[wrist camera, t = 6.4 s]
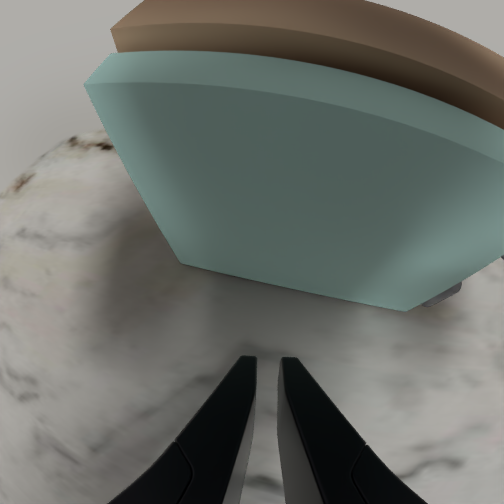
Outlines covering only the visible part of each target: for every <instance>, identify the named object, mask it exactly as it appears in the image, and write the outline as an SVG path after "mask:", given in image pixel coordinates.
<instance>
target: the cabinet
mask: <svg viewBox="0 0 504 504" xmlns="http://www.w3.org/2000/svg"><path fill="white" fill-rule="evenodd" d="M110 30H111V33H112V36H113V39H114V42H115V45H116V48H117V51H118V53H123V52H139V51H211V52H227V53H239V54H250V55H259V56H267V57H274V58H281V59H288V60H294V61H300V62H306V63H311V64H316V65H321V66H326V67H331V68H335V69H340V70H344V71H348V72H352V73H356V74H360V75H364V76H367V77H371V78H375V79H378V80H382V81H385V82H388V83H391V84H395V85H398V86H401V87H404V88H407V89H410V90H413V91H416V92H418V93H421V94H424V95H427V96H429V97H432V98H435V99H437V100H440V101H442V102H445V103H447V104H450V105H452V106H454V107H457V108H459V109H461V110H464V111H466V112H468V113H470V114H473V115H475V116H477V117H479V118H481V119H483V120H485V121H487V122H489V123H491V124H493V125H495V126H497V127H499V128H501V129H503V130H504V57H502V56H500V55H499V54H497V53H495V52H493V51H491V50H490V49H488V48H486V47H484V46H482V45H480V44H478V43H476V42H474V41H472V40H470V39H468V38H466V37H464V36H462V35H460V34H458V33H456V32H453V31H451V30H449V29H447V28H444V27H442V26H440V25H437V24H435V23H432V22H430V21H427V20H424V19H422V18H419V17H417V16H414V15H411V14H408V13H405V12H402V11H399V10H396V9H393V8H389V7H386V6H383V5H380V4H376V3H373V2H369V1H365V0H144V1H143V2H142V3H140V4H139V5H138V6H137V7H135V8H134V9H133V10H132V11H130V12H129V13H128V14H127V15H126V16H125V17H123V18H122V19H121V20H120V21H119V22H118V23H117V24H115V25H114V26H113V27H112V28H111V29H110Z"/></svg>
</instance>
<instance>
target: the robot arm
mask: <svg viewBox="0 0 504 504" xmlns="http://www.w3.org/2000/svg"><path fill="white" fill-rule="evenodd" d="M256 384H257V357H256V356H246V355H242V356H241V357H240V358H239V359H238V360H237V362H236V363H235V364H234V365H233V367H232V368H231V369H230V371H229V372H228V373H227V375H226V376H225V377H224V379H223V380H222V381H221V382H220V384H219V385H218V386H217V388H216V389H215V390H214V391H213V393H212V394H211V395H210V396H209V398H208V399H207V400H206V402H205V403H204V404H203V405H202V407H201V408H200V409H199V410H198V412H197V413H196V414H195V415H194V417H193V418H192V419H191V420H190V421H189V423H188V424H187V425H186V426H185V428H184V429H183V430H182V431H181V433H180V434H179V435H178V436H177V437H176V439H175V441H173V442H172V443H171V444H170V446H169V447H168V448H167V449H166V450H165V452H164V453H163V454H162V455H161V456H160V457H159V458H158V459H157V460H156V461H155V462H154V464H153V465H152V466H151V467H150V468H149V469H148V470H146V471H145V472H144V473H143V474H142V475H141V476H140V477H139V478H138V479H137V480H136V481H134V482H133V483H132V484H131V485H130V486H128V487H127V488H126V489H125V490H124V491H122V492H121V493H120V494H119V495H117V496H116V497H115V498H114V499H113V500H111V501H110V502H109V503H108V504H239V502H240V497H241V493H242V488H243V483H244V478H245V474H246V469H247V464H248V459H249V454H250V449H251V444H252V438H253V430H254V415H255V400H256ZM277 436H278V446H279V454H280V462H281V469H282V477H283V485H284V493H285V501H286V504H428V503H426V502H425V501H424V500H423V499H422V498H420V497H419V496H418V495H417V494H416V493H415V492H414V491H412V490H411V489H410V488H409V487H408V486H407V485H406V484H404V483H403V482H402V481H401V480H400V479H399V478H398V477H397V476H396V475H395V474H394V473H393V472H392V471H391V470H390V469H389V468H388V467H387V466H386V465H385V464H384V463H383V462H382V461H381V460H380V458H379V457H378V456H377V455H376V454H375V453H374V452H373V450H372V449H371V448H370V447H369V445H366V442H365V441H364V440H363V438H362V437H361V436H360V435H359V434H358V432H357V431H356V430H355V429H354V428H353V426H352V425H351V424H350V423H349V421H348V420H347V419H346V418H345V417H344V415H343V414H342V413H341V412H340V410H339V409H338V408H337V407H336V406H335V404H334V403H333V402H332V401H331V399H330V398H329V397H328V396H327V394H326V393H325V392H324V391H323V389H322V388H321V387H320V386H319V384H318V383H317V382H316V381H315V379H314V378H313V377H312V376H311V374H310V373H309V372H308V371H307V369H306V368H305V367H304V366H303V364H302V363H301V362H300V361H299V359H298V358H296V357H282V358H281V360H280V368H279V376H278V406H277Z"/></svg>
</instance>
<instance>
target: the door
mask: <svg viewBox="0 0 504 504" xmlns="http://www.w3.org/2000/svg"><path fill="white" fill-rule="evenodd" d="M84 87H85V89H86V91H87V93H88V95H89V97H90V99H91V101H92V103H93V105H94V107H95V109H96V112H97V113H98V116H99V117H100V120H101V122H102V124H103V126H104V128H105V130H106V132H107V133H108V135H109V137H110V139H111V141H112V143H113V145H114V147H115V149H116V151H117V153H118V155H119V157H120V158H121V160H122V162H123V164H124V166H125V168H126V170H127V172H128V173H129V175H130V177H131V179H132V181H133V182H134V184H135V186H136V188H137V190H138V192H139V193H140V195H141V197H142V199H143V200H144V202H145V204H146V206H147V207H148V209H149V211H150V213H151V214H152V216H153V218H154V220H155V221H156V223H157V225H158V227H159V228H160V230H161V232H162V233H163V235H164V237H165V238H166V240H167V242H168V243H169V245H170V247H171V248H172V250H173V252H174V253H175V255H176V257H177V258H178V260H179V262H180V263H181V264H186V265H190V266H194V267H198V268H202V269H207V270H211V271H215V272H219V273H224V274H228V275H232V276H237V277H241V278H246V279H250V280H255V281H259V282H263V283H268V284H273V285H277V286H282V287H286V288H291V289H295V290H300V291H305V292H309V293H314V294H319V295H324V296H328V297H333V298H338V299H343V300H348V301H353V302H358V303H363V304H368V305H373V306H378V307H383V308H388V309H393V310H398V311H404V312H406V311H408V310H410V309H412V308H414V307H416V306H418V305H420V304H422V305H423V306H425V307H430V306H432V305H434V304H436V303H438V302H440V301H442V300H444V299H446V298H448V297H449V296H451V295H453V294H455V293H457V292H458V291H459V290H460V289H461V285H462V282H461V281H463V280H464V279H466V278H468V277H469V276H471V275H473V274H474V273H476V272H478V271H479V270H481V269H482V268H484V267H486V266H487V265H489V264H490V263H492V262H493V261H495V260H497V259H498V258H500V257H501V258H502V259H503V260H504V130H503V129H501V128H499V127H497V126H495V125H493V124H491V123H489V122H487V121H485V120H483V119H481V118H479V117H477V116H475V115H473V114H470V113H468V112H466V111H464V110H461V109H459V108H457V107H454V106H452V105H450V104H447V103H445V102H442V101H440V100H437V99H435V98H432V97H429V96H427V95H424V94H421V93H418V92H416V91H413V90H410V89H407V88H404V87H401V86H398V85H395V84H391V83H388V82H385V81H382V80H378V79H375V78H371V77H367V76H364V75H360V74H356V73H352V72H348V71H344V70H340V69H335V68H331V67H326V66H321V65H316V64H311V63H306V62H300V61H294V60H288V59H281V58H274V57H267V56H259V55H250V54H239V53H227V52H211V51H139V52H123V53H111V54H110V55H109V56H108V57H107V58H106V59H105V60H104V61H103V63H102V64H101V65H100V66H99V67H98V68H97V69H96V70H95V72H94V73H93V74H92V75H91V76H90V77H89V79H88V80H87V81H86V82H85V83H84Z"/></svg>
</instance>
